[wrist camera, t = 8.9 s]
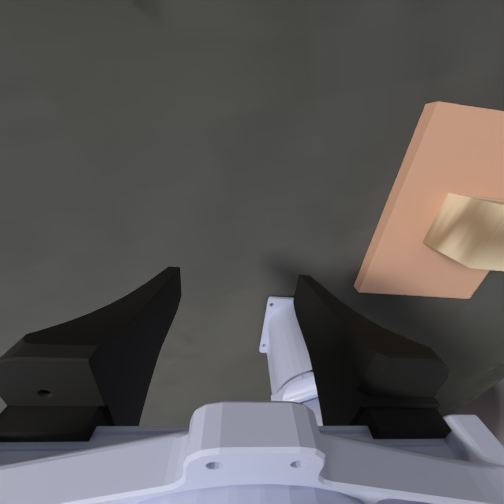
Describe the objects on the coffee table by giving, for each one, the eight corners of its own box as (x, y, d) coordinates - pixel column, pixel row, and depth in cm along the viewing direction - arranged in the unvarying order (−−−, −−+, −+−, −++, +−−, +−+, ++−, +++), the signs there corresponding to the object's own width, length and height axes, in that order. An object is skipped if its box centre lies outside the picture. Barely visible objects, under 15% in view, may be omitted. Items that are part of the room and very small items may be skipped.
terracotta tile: (459, 292, 26) (469, 298, 25) (353, 285, 25) (358, 292, 24) (574, 126, 18) (594, 125, 17) (425, 104, 17) (437, 101, 16)
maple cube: (465, 246, 22) (523, 272, 17) (421, 242, 21) (469, 268, 17) (496, 198, 20) (571, 214, 15) (448, 192, 19) (511, 207, 15)
